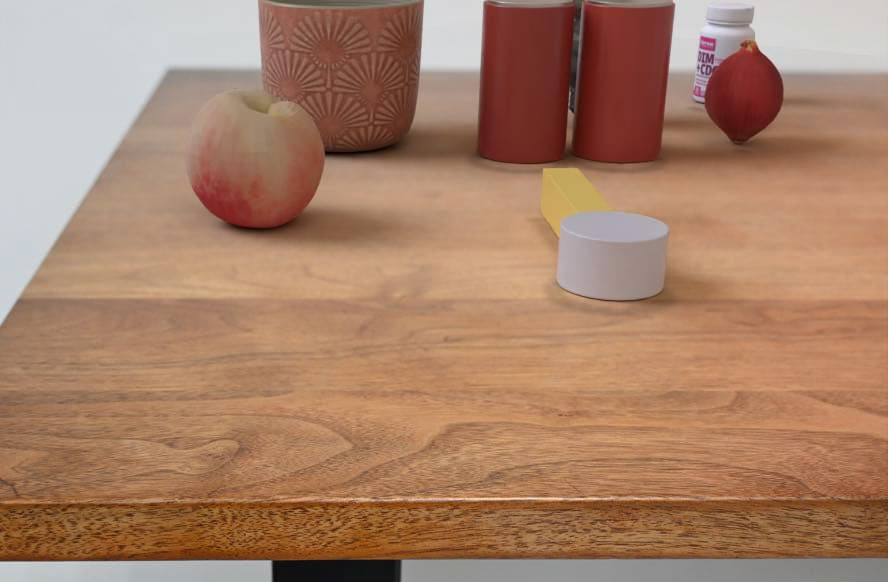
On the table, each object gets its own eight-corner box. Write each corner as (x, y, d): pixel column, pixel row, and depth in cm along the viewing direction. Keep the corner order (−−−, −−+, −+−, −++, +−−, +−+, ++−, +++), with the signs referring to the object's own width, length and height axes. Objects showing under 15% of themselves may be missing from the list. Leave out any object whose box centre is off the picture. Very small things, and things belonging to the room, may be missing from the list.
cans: (647, 142, 98) (661, -7, 94) (670, 162, 92) (687, 4, 88) (471, 143, 97) (477, -7, 93) (483, 163, 91) (490, 4, 87)
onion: (708, 132, 102) (719, 31, 98) (781, 139, 99) (796, 35, 96) (692, 146, 97) (704, 40, 94) (770, 154, 94) (784, 46, 91)
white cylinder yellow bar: (676, 300, 64) (683, 240, 63) (568, 301, 64) (572, 241, 63) (601, 210, 80) (605, 161, 79) (513, 211, 80) (516, 162, 78)
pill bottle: (684, 102, 113) (694, 5, 110) (703, 94, 117) (713, 0, 114) (736, 108, 111) (748, 9, 108) (754, 99, 114) (766, 4, 111)
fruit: (257, 250, 72) (254, 110, 69) (164, 223, 77) (157, 92, 74) (348, 220, 77) (349, 90, 74) (255, 198, 82) (253, 74, 79)
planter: (244, 130, 101) (240, -10, 97) (388, 121, 105) (391, -15, 101) (285, 165, 90) (282, 9, 86) (444, 154, 94) (450, 3, 90)
